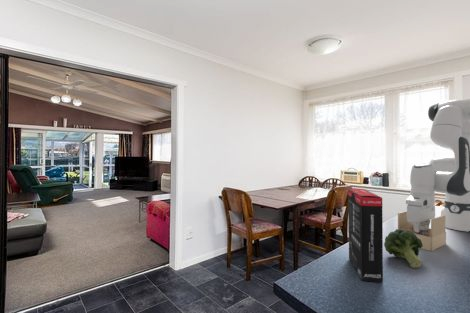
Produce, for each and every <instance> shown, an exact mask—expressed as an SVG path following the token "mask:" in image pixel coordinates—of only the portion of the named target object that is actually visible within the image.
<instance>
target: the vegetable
mask: <svg viewBox="0 0 470 313" xmlns="http://www.w3.org/2000/svg"><path fill="white" fill-rule="evenodd" d="M384 240H385V241H384V243H383V246H384V248H385V251H387V253H388V254H389V255H393V256H394V257H395V258H397V259H399V258H403V259H406V262H408V264H409V267H410V268H413V269H418V268H420V267H421V266H422V264H423V260H421V259H420V258H419V253H420V249H422V245H423V244H422V242H421V240H420V239H419V238H417V236H416V235H415V234H414V233H413V232H411V231H405V230H402V229H398V228H396V229H395V230H394V231H390V232H389V233H388V235H386V236H385V237H384Z"/></svg>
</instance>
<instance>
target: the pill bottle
mask: <svg viewBox="0 0 470 313" xmlns="http://www.w3.org/2000/svg"><path fill="white" fill-rule="evenodd" d="M419 228H420V232H415V231H414V233H415V234H419V235H424V236H428V237H429V228H430V227H429V228H428V227H427V222H425V221H423V222H420V225H419Z"/></svg>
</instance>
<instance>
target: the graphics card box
mask: <svg viewBox="0 0 470 313" xmlns="http://www.w3.org/2000/svg"><path fill="white" fill-rule="evenodd" d="M347 196H348V200H347V201H348V208H347V209H348V212H347V213H348V259H349V261H350V262H351V264H352V267H353V268H354V269H355V272H356V274H357V275H358V278H360V280H361V281H363V282H365V281H366V282H374V283H384V271H383V270H384V266H383V262H384V261H383V259H384V257H383V256H384V255H383V252H384V250H383V249H384V248H383V246H384V243H383V241H384V240H383V236H384V235H383V231H384V228H383V223H384V222H383V197H382V196H379V195H377V194H376V193H373V192H371V191H369V190H367V189H365V188H348V192H347Z"/></svg>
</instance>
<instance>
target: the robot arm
mask: <svg viewBox="0 0 470 313" xmlns="http://www.w3.org/2000/svg"><path fill="white" fill-rule="evenodd" d="M427 112H428V113H427V115H428V119H429V120H430V121H431V122H432V125H431V128H430V129H431V130H430V137H429V138H430V139H431V141H432V142H433V143H434V144H435V145H437V146H439V147H442V148H443V149H448V150H451V151H452V152H453V153H454V156H438V157H437V156H436V157H432V159H430V161H429V163H416V164H414V165H413V166H412V168H411V171H410V176H409V177H410V179H409V181H410V190H409V196H408V197H407V198H406V199H405V204H406V211H407V219H408V222H411V223H413V226H414V231H415V232H420V228H419V225H420V222H423V221H425V222H427V227H428V228H430V225H431V219H434V218H436V206H435V204H436V203H435V201H436V198H435V196H436V193H441V194H445V200H444V203H443V205H444V208H443V209H441V210H440V216H443V215H446V223H445V229H450V230H455V231H461V232H469V231H470V98H459V99H458V98H457V99H452V100H445V101H435V102H433V103H431V105H430V106H429V108H428V111H427ZM435 192H436V193H435Z"/></svg>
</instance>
